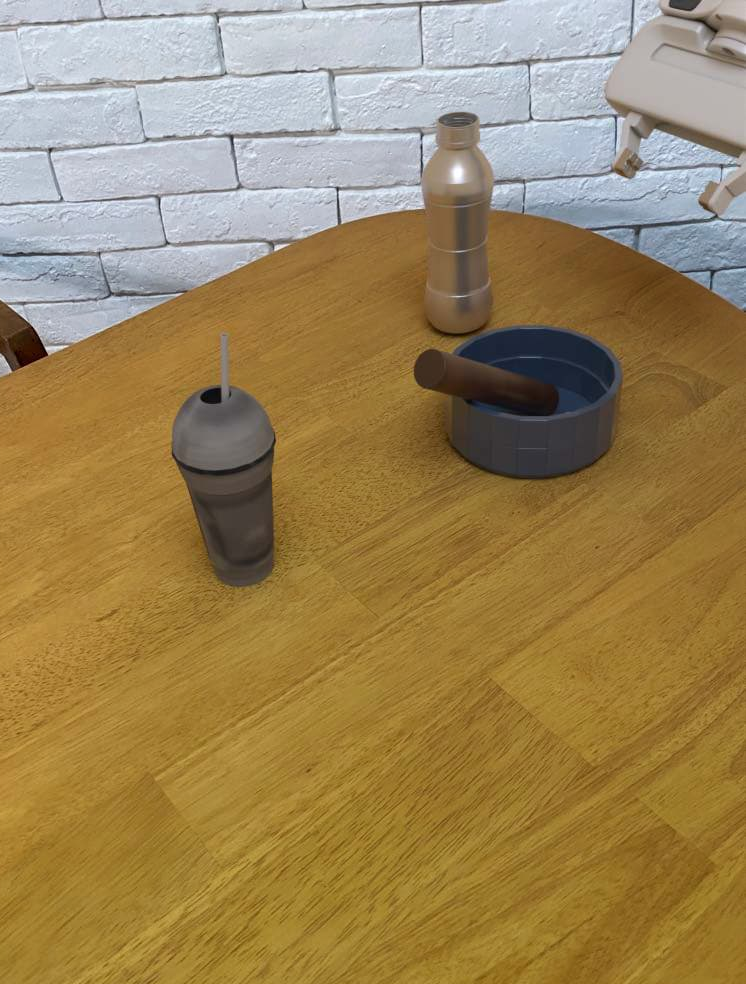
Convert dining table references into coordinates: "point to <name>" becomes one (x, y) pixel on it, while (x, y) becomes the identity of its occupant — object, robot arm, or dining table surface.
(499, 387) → the stick
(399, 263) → the dining table surface
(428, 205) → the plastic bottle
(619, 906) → the dining table surface
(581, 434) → the bowl
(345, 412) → the dining table surface
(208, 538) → the beverage cup
